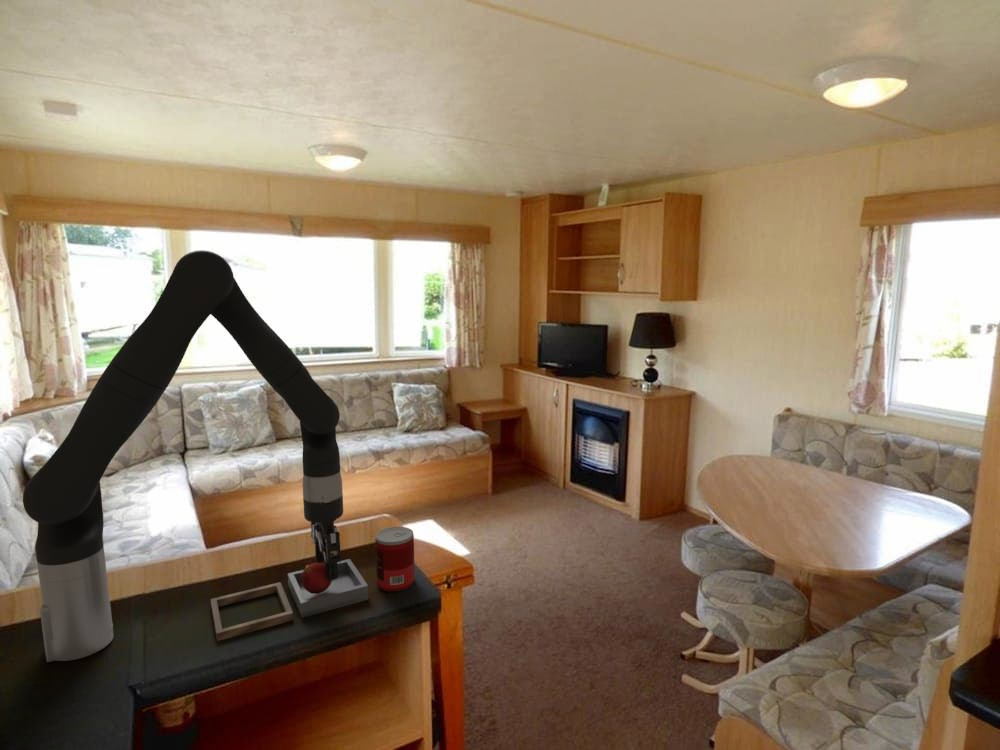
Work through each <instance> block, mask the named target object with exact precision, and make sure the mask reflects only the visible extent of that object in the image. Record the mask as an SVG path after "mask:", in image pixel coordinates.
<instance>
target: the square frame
mask: <svg viewBox="0 0 1000 750" xmlns="http://www.w3.org/2000/svg"><path fill="white" fill-rule="evenodd" d="M271 594H277V597H278V600H279V602H280V605H281V607H282V610H283V612H281V613H277V614H276V613H275V614H273V615H269V616H266V617H261V618H258V619H254V620H250V621H247V622H244V623H238V624H235V625H232V626H228V627H224V628H223V627H222V620H221V614H220V611H219V607H223V606H228V605H231V604H232V605H233V604H235V603H239V602H243V601H247V600H251V599H256V598H260V597H264V596H267V595H271ZM210 607H211V613H212V619H213V624H214V625H213V626H214V630H215V631H214V632H215V637H216V642H219V641H222V640H223V641H224V640H226V639H231V638H234V637H238V636H240V635H244V634H248V633H252V632H255V631H259V630H262V629H266V628H271V627H274V626H278V625H281V624H284V623H288V622H292V621H294V612H293V610H292V607H291V604H290V602H289V600H288V597H287V595H286V592H285V589H284V588H283V585H282V583H281V581H280V582H275V583H272V584H271V583H270V584H268V585H262V586H257V587H256V588H255V587H254V588H252V589H247V590H243V591H238V592H234V593H231V594H226V595H221V596H217V597H213V598H210Z"/></svg>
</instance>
